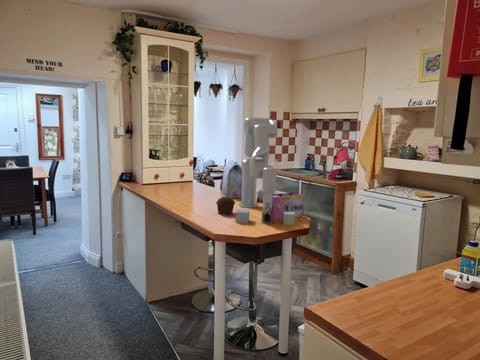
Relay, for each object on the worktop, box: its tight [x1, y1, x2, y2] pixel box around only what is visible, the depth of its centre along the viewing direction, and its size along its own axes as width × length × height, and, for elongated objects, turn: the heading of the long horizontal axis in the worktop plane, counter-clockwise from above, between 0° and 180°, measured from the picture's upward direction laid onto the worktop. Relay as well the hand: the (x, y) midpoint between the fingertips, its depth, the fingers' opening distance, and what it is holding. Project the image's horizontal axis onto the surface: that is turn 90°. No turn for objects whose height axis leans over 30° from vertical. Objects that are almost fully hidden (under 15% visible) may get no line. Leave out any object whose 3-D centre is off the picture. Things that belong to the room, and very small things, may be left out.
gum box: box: [271, 192, 305, 221], centre depth 215 cm, size 24×8×14 cm, turn 119°
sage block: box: [282, 211, 296, 226], centre depth 202 cm, size 6×6×6 cm
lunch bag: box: [221, 159, 242, 199], centre depth 274 cm, size 22×17×26 cm
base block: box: [234, 209, 250, 224], centre depth 202 cm, size 7×7×6 cm
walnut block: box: [261, 209, 274, 225], centre depth 203 cm, size 6×6×6 cm
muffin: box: [215, 196, 236, 216], centre depth 219 cm, size 12×11×10 cm
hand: (267, 219), depth 203 cm, fingers open, 9 cm apart
